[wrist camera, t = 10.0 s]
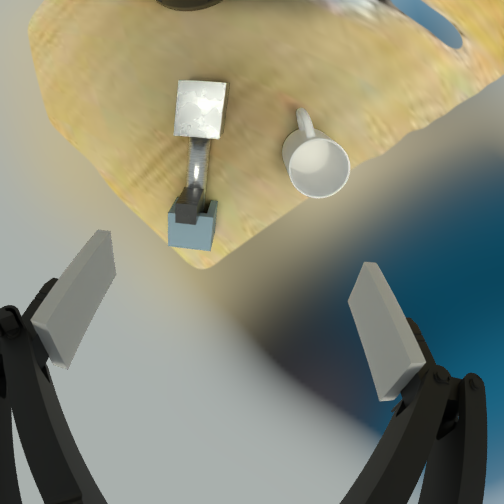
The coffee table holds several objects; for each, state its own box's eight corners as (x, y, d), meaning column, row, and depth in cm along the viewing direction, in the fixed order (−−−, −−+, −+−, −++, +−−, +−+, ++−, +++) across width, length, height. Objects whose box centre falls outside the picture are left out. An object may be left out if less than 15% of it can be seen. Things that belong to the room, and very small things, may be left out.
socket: (177, 196, 49) (168, 212, 44) (217, 201, 50) (213, 217, 44) (176, 227, 52) (168, 246, 47) (214, 231, 53) (210, 251, 48)
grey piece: (192, 127, 42) (178, 138, 34) (212, 128, 42) (203, 140, 34) (186, 213, 50) (174, 241, 42) (204, 215, 50) (195, 243, 42)
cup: (288, 180, 48) (296, 204, 39) (269, 111, 42) (273, 118, 33) (335, 169, 47) (354, 191, 38) (320, 99, 40) (338, 104, 32)
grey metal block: (188, 80, 39) (178, 79, 33) (229, 83, 39) (226, 82, 34) (183, 128, 43) (173, 135, 38) (223, 131, 43) (219, 139, 38)
